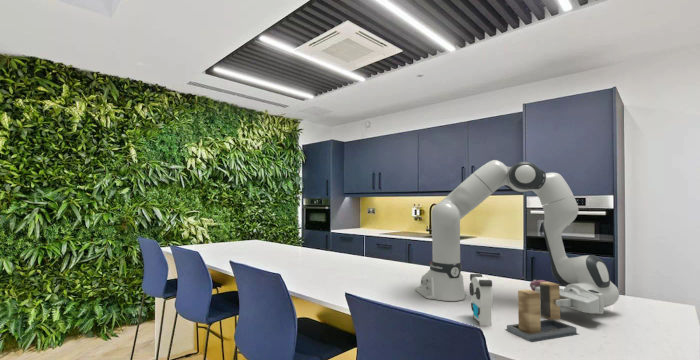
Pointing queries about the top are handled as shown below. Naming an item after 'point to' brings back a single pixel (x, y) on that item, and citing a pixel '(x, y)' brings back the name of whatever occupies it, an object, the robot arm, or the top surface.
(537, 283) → the video game controller
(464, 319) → the top surface
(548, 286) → the oak finger
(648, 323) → the top surface
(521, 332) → the dark grey tray
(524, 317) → the block
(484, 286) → the panda figurine
